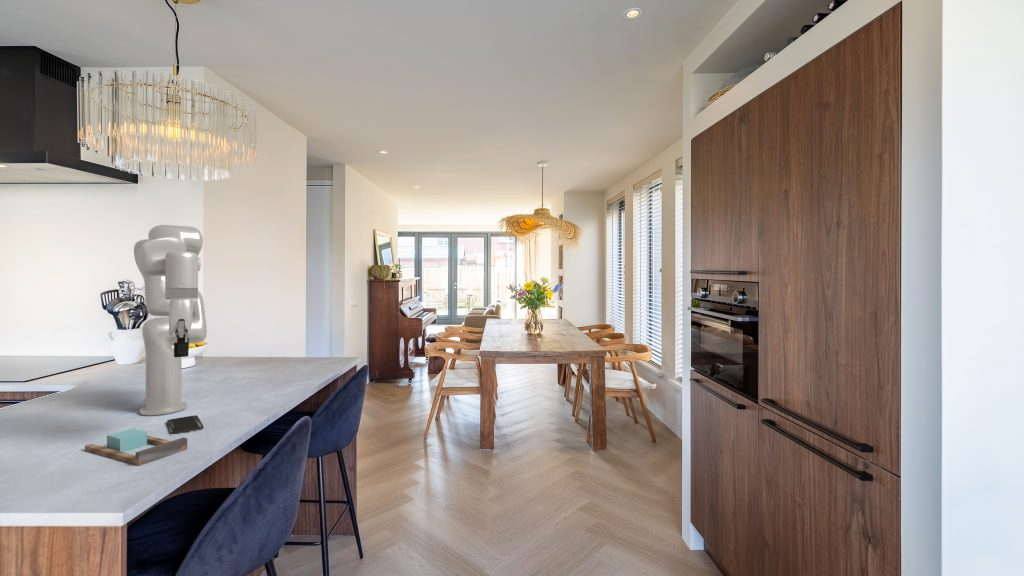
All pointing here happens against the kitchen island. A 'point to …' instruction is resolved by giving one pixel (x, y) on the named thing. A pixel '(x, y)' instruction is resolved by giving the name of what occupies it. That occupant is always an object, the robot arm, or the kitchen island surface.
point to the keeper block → (127, 440)
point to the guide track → (145, 455)
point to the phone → (184, 424)
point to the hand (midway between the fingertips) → (181, 354)
